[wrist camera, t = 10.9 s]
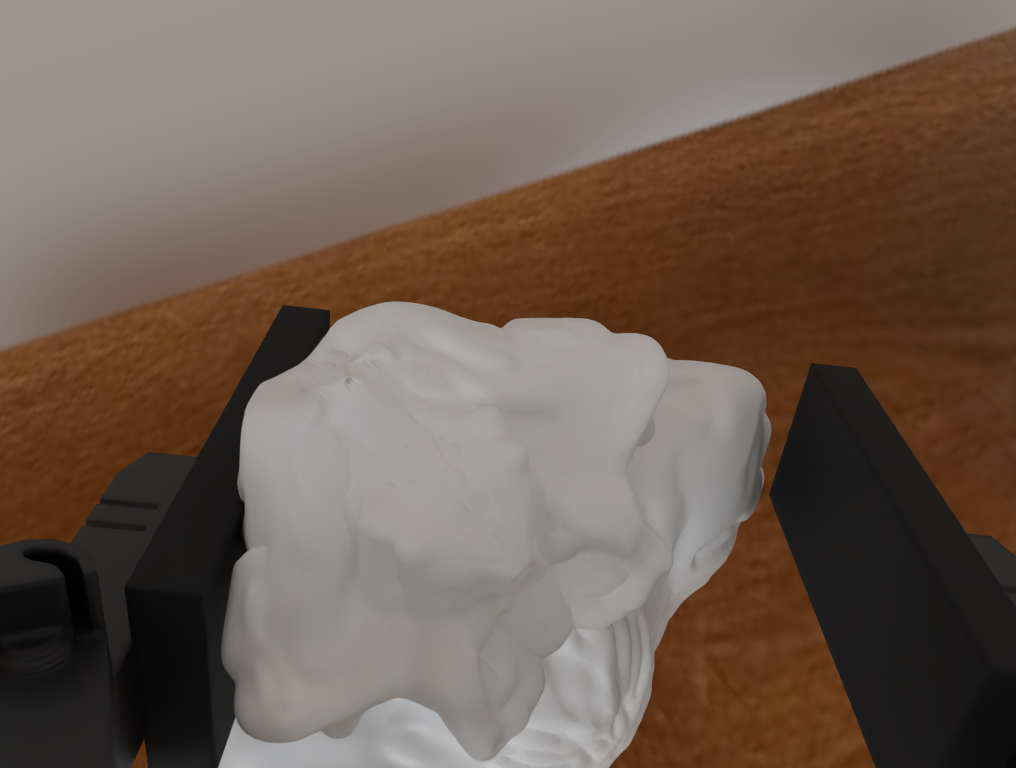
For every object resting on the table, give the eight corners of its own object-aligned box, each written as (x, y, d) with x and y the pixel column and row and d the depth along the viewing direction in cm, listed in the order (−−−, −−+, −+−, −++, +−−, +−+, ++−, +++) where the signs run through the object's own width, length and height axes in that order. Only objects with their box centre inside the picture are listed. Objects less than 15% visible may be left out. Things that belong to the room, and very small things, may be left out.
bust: (641, 430, 22) (469, -8, 14) (931, 609, 16) (911, 68, 9) (252, 809, 19) (-240, 514, 11) (457, 1176, 13) (-210, 1105, 6)
